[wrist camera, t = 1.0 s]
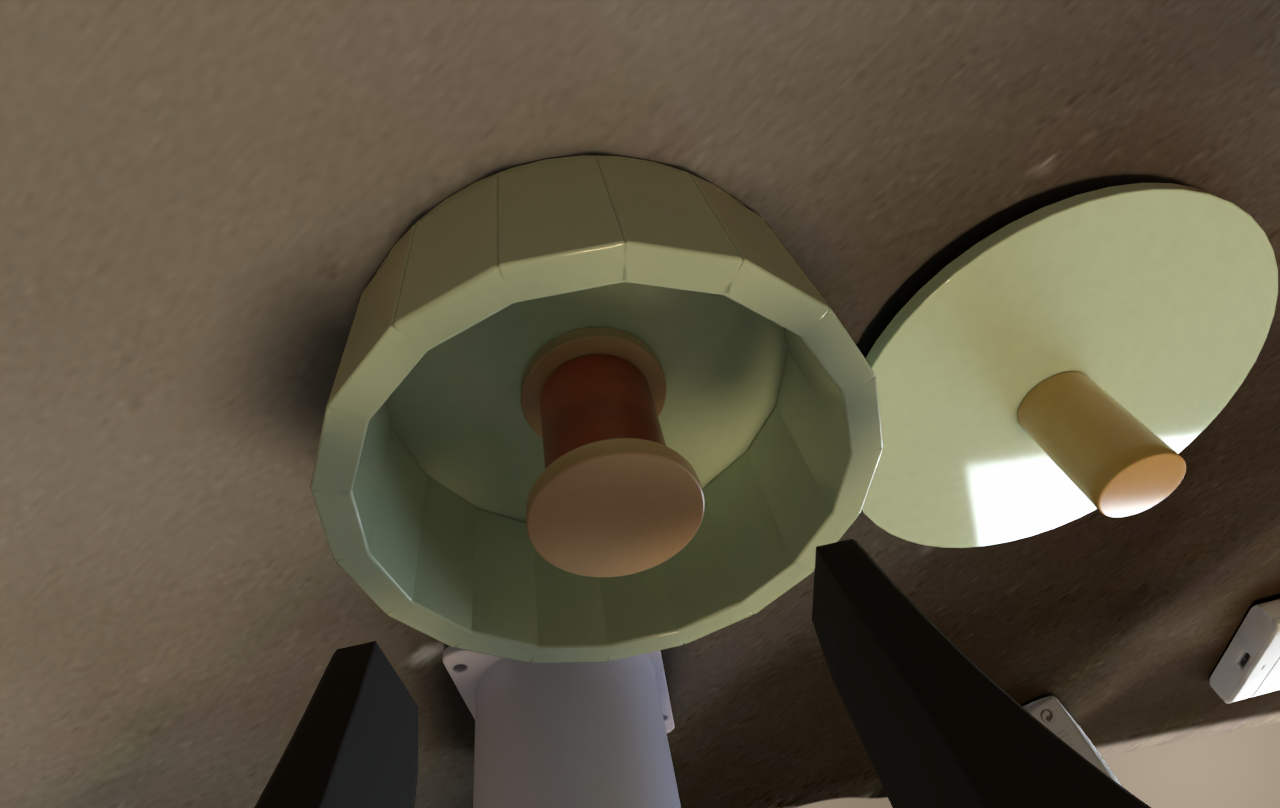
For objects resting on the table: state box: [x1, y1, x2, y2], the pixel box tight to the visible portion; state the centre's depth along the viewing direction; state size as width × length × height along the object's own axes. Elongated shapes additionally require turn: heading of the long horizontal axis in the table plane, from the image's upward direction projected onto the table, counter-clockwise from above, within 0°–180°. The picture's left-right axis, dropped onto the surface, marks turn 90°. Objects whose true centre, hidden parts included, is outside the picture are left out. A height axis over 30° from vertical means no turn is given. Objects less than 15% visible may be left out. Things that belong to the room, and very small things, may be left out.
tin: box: [310, 155, 883, 663], centre depth 18 cm, size 13×13×5 cm
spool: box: [520, 327, 705, 577], centre depth 17 cm, size 4×4×5 cm
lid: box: [862, 183, 1278, 548], centre depth 21 cm, size 14×14×5 cm
